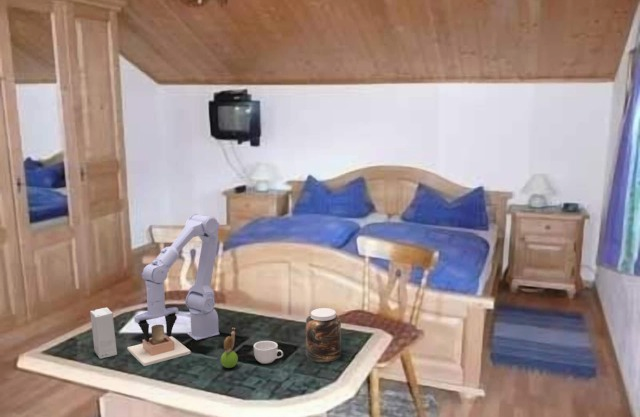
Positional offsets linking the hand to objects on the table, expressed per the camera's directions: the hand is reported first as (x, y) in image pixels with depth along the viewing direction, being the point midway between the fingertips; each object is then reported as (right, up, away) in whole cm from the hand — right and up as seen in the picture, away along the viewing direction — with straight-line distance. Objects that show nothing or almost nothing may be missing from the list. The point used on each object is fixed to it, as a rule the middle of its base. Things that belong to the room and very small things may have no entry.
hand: (158, 338), depth 196 cm
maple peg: (0, -4, +1) cm, 4 cm away
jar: (+56, -5, -3) cm, 56 cm away
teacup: (+38, -6, -7) cm, 39 cm away
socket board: (0, -5, +1) cm, 5 cm away
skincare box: (-18, -5, 0) cm, 19 cm away
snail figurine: (+26, -7, -11) cm, 29 cm away
